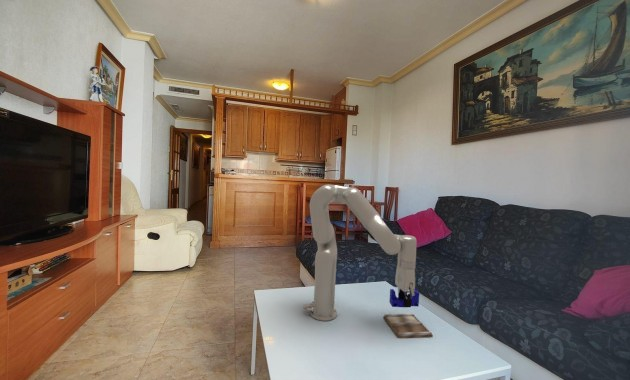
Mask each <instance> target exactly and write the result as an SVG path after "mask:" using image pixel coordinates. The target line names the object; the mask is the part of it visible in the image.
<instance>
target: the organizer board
mask: <svg viewBox="0 0 630 380" xmlns="http://www.w3.org/2000/svg"><path fill="white" fill-rule="evenodd" d="M382 318H383V320H384V322H385V323H386V325H387V326H388V327H389V329H390V330H391V331H392V333H393V334H394V335H395V336H396V338H397V339H413V338H414V339H416V338H417V339H418V338H433V334H432V333H433V332H431V331H430V330H429V329H428V328H427V327H426V326H425V325H424V324H423V322H422V321H420V320H419V319H418V318H417V317H416V315H415V314H414V313H400V314H399V313H394V314H393V313H391V314H387V313H386V314H385V313H384V316H383V317H382Z"/></svg>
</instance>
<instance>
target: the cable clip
mask: <svg viewBox="0 0 630 380" xmlns="http://www.w3.org/2000/svg"><path fill="white" fill-rule="evenodd" d="M414 294H415V295H414V296H413V297H412V299H411V307H417V308H418V307H419V304H420V302H419V301H420V292H419V291H418V290H416V289H415V290H414ZM389 304H390V306H391V308H404V309H405V308H407V307H404V299H399V298H398V296H397V295H396V291H395V290H394V289H393V288H390V289H389Z"/></svg>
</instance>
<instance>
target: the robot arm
mask: <svg viewBox="0 0 630 380" xmlns="http://www.w3.org/2000/svg"><path fill="white" fill-rule="evenodd" d="M331 203H336V204H343V205H346V206H347V207H348V208H349V209H350V211H351V212H352V213H353V215H355V217H356V218H357V220H358V221H359V222H360V224H362V226H363V227H364V228H365V230H366V231H368V232H369V234H370V235H371V236H372V237H373V239H374V240H375V241H376V243H377V244H378V245H379V246H380V247H381V249H382V250H383V251H384V253H386V254H387V255H391V256H395V255H397V264H396V270H395V271H396V272H395V279H394V281H395V282H394V283H395V285H396V287H397V292H398V294H397V298H399V299H404V307H403V308H405V307H406V308H411V307H412V306H411V299H412V297H413V296H414V295H415V294H414V290H416V261H417V242H418V241H417V238H416V237H415V236H413V235H408V234H396V233H395V234H394V233H393V232H392V230H391V229H390V228H389V226H388V225H387V224H386V223H385V222H384V220H383V218H382V217H381V215H380V213H378V211H377V210H376V208H374V206H372V204H371V203H370V202H369V200H368V199H367V198H366V197H365V196H364V194H363V193H362V191H361V190H359V189H358V188H356V187H349V186H341V185H337V184H336V185H335V184H324V185H321V186H320V187H318V189H316V190H315V191H314V193H313V194H312V195H311V197H310V199H309V213H310V221H311V229H312V237H313V239H314V241H315V242H316V245H317V251H316V254H315V257H314V258H315V259H314V288H313V289H314V290H313V291H314V293H313V301H311V302H312V303H310V304H303V310H306V312H309V315H310V316H311V317H312V318H313V319H316V320H318V321H323V322H324V321H326V322H327V321H333V320H334V319H336V317H338V311H337V309H336V308H335V296H336V274H337V259H338V247H337V246H338V245H337V241H336V234H335V229H334V228H335V227H334V226H333V224H332V223H331V219H330V213H329V205H330V204H331Z"/></svg>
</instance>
